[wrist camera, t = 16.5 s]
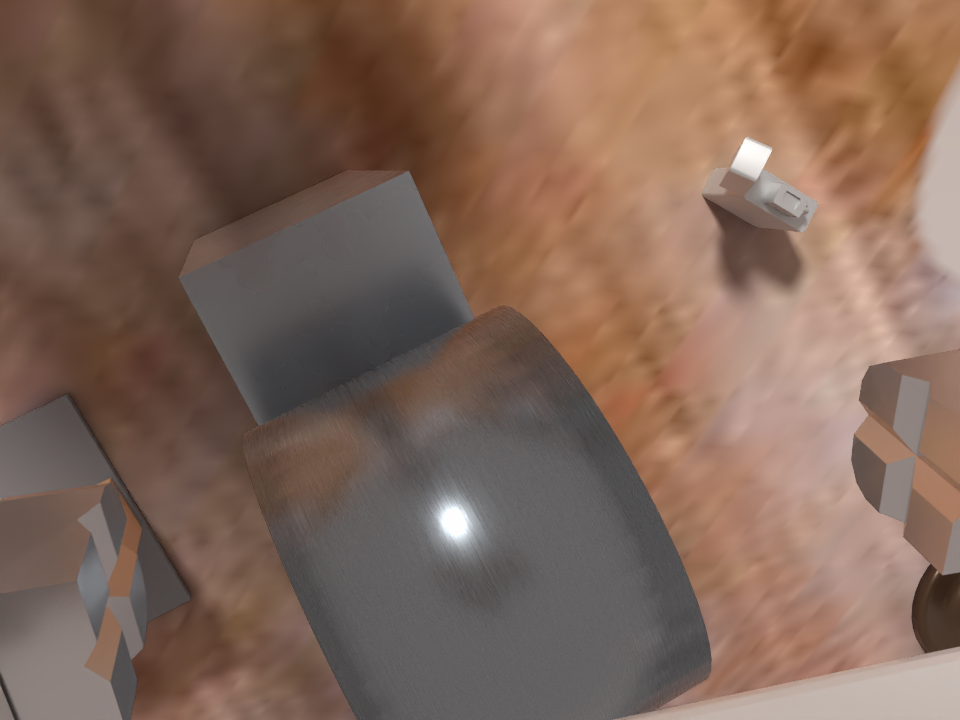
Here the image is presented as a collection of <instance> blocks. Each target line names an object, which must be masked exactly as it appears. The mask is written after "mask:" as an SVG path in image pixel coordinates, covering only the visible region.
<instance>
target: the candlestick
mask: <svg viewBox="0 0 960 720" xmlns="http://www.w3.org/2000/svg"><path fill="white" fill-rule="evenodd" d="M912 623H913V629H914V632H915V635H916V638H917V640H918V642H919V643H920V645H921V646H922V648H923V649H924V650H925V651H926V652H928V653H931V652H936V651H941V650H945V649H950V648H955V647H960V572H959V573H953V574H947V575H942V574H941V573H940V572H939V571H938V570H937V569H936V568H935V567H934V566H933V565H931V564H930V566H929V567H928V568H927V570H926V571H925V573H924V575H923V576H922V578H921V580H920V582H919V585H918V587H917V589H916V592H915V596H914V600H913V606H912Z"/></svg>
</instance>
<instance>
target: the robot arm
mask: <svg viewBox="0 0 960 720" xmlns="http://www.w3.org/2000/svg"><path fill="white" fill-rule="evenodd" d="M859 401H860V402H861V404H862V405H863V407H864V408H865V410H866V411H867V413H868V414H869V415H868V417H867V418H866V419H865V421H864V422H863V423H862V424H861V426H860V427H859V428H858V430H857V431H856V432H855V434H854V439H853V448H852V458H851V460H852V465H853V469H854V473H855V478H856V482H857V484H858V486H859V488H860V490H861V491H862V493H863V495H864V497H865V498H866V500H867V501H868V502H869V503H870V504H871V505H872V506H873V507H874V508H875V509H876V510H877V511H878V512H879V513H881V514H884V515H886V516H889V517H892V518H894V519H897V520H899V521H902V522H904V536H903V537H904V538H905V539H906V540H907V541H908V542H909V543H910V544H911V545H912V546H913V547H914V548H915V549H916V550H917V551H918V552H919V553H920V554H921V555H922V556H923V557H924V558H925V559H926V560H927V561H928V562H929V563H930V564H931V565H933V566H934V567H935V568H936V569H937V570H938V571H939V572H940V573H941V574H942V575H947V574H953V573H959V572H960V349H957V350H952V351H947V352H941V353H936V354H930V355H925V356H920V357H914V358H909V359H903V360H898V361H892V362H887V363H882V364H877V365H873V366H869V368H868V370H867V372H866V374H865V376H864V378H863V380H862V384H861V390H860V397H859ZM126 521H127V517H126V514H125V511H124V508H123V505H122V502H121V499H120V496H119V492H118V491H117V490H116V488H115V487H114V486H113V485H112V484H111V483H106V484H99V485H92V486H84V487H77V488H70V489H62V490H55V491H48V492H41V493H33V494H26V495H19V496H12V497H7V498H5V499H4V498H0V720H131V715H132V709H133V704H134V698H135V693H136V688H137V682H138V681H137V677H136V674H135V671H134V667H133V664H132V661H131V660H132V659H133V658H134V657H135V656H136V655H137V654H138V653H139V652H140V651H141V650H142V649H143V647H144V642H145V636H146V629H147V597H146V591H145V584H144V578H143V573H142V570H141V566H140V562H139V559H138V555H137V554H136V553H134V552H133V551H131V550H130V549H129V548H127V547H126V546H124V545H123V544H122V539H123V534H124V530H125V526H126ZM613 720H960V647H955V648H950V649H945V650H941V651H936V652H931V653H926V654H922V655H917V656H912V657H907V658H903V659H898V660H893V661H888V662H884V663H879V664H874V665H869V666H865V667H860V668H855V669H850V670H846V671H841V672H836V673H831V674H827V675H822V676H817V677H813V678H808V679H803V680H799V681H794V682H789V683H784V684H780V685H775V686H770V687H766V688H761V689H756V690H751V691H747V692H742V693H737V694H732V695H728V696H723V697H718V698H713V699H708V700H704V701H699V702H694V703H689V704H685V705H680V706H675V707H670V708H666V709H661V710H656V711H651V712H647V713H642V714H637V715H632V716H628V717H623V718H618V719H613Z"/></svg>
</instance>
